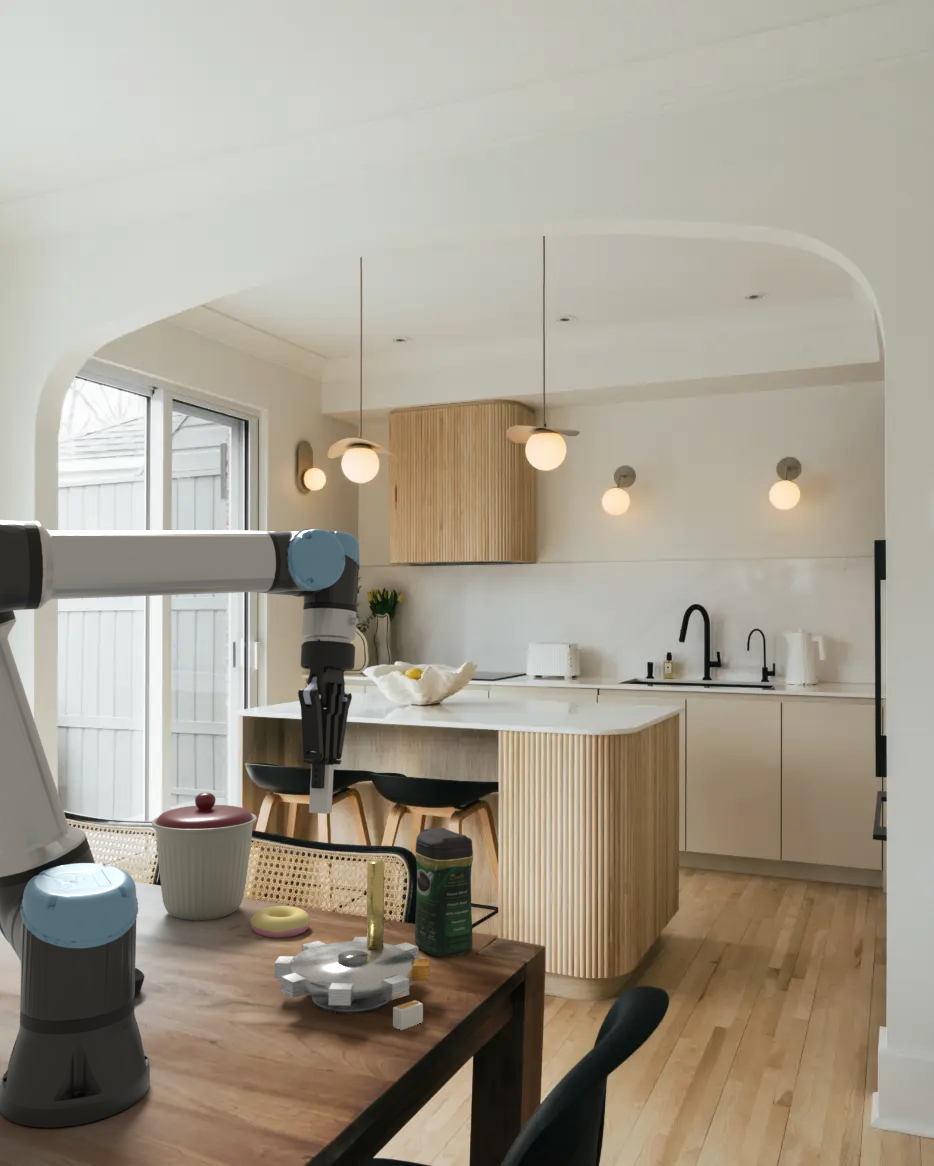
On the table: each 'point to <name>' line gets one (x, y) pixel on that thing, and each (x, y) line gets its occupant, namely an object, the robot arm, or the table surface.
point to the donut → (280, 921)
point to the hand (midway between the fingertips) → (320, 812)
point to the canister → (203, 858)
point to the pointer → (407, 1015)
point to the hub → (352, 1004)
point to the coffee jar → (443, 892)
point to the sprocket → (355, 960)
